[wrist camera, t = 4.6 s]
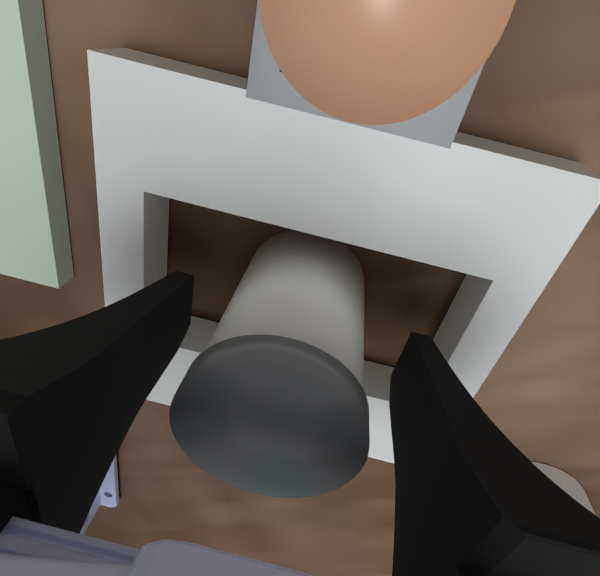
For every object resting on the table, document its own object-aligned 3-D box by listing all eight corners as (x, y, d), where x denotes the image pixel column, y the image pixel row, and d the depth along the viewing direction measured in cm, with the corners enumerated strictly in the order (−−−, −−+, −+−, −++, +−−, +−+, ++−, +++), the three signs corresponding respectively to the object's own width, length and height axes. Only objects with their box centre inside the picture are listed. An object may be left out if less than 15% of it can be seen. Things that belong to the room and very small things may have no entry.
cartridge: (348, 344, 17) (339, 515, 11) (237, 315, 17) (166, 470, 11) (385, 243, 14) (398, 395, 8) (254, 210, 14) (172, 337, 8)
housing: (420, 433, 19) (428, 493, 17) (133, 359, 19) (97, 408, 17) (703, -50, 9) (826, -82, 7) (119, -196, 9) (30, -280, 7)
